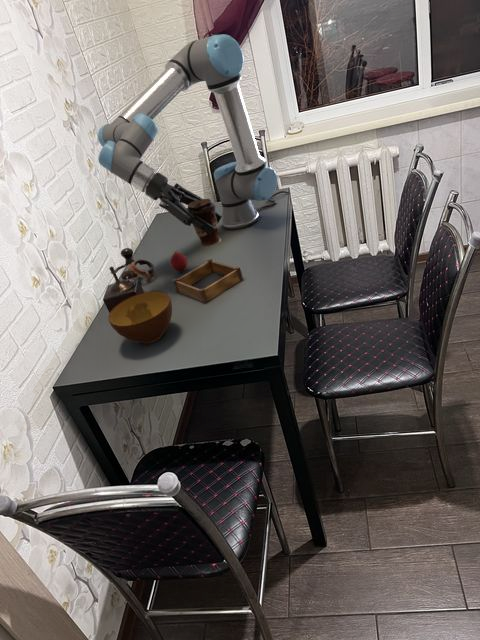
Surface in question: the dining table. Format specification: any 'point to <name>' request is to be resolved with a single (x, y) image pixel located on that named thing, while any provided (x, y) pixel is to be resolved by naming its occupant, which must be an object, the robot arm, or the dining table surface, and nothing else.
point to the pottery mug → (139, 271)
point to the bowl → (142, 316)
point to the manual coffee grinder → (122, 284)
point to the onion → (178, 262)
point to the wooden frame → (214, 289)
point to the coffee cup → (207, 213)
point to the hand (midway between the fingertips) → (216, 225)
